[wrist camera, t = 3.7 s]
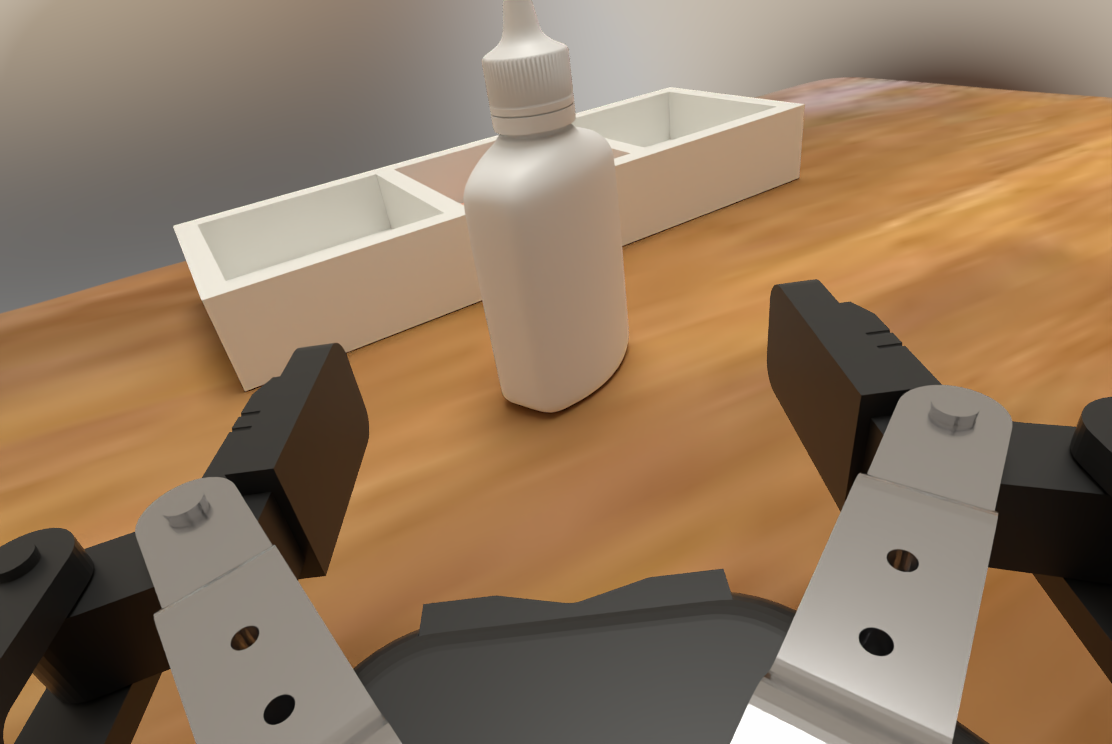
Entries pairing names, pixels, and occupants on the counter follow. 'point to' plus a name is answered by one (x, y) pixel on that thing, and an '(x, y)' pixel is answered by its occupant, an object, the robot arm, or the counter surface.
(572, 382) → the eye dropper bottle
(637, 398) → the counter surface
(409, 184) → the rack
